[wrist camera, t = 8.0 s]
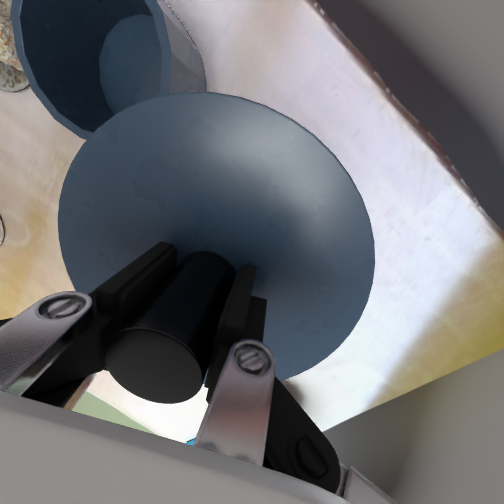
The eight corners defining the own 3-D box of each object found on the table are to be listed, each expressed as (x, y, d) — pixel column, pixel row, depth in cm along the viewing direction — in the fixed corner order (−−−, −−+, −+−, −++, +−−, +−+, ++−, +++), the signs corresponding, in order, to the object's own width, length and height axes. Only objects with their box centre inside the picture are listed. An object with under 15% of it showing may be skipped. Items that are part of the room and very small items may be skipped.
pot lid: (86, 335, 15) (-31, 443, 9) (61, 56, 9) (-298, -99, 3) (306, 396, 15) (321, 544, 9) (433, 150, 9) (696, 149, 3)
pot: (98, 131, 31) (26, 123, 22) (93, -6, 25) (-6, -89, 17) (197, 157, 31) (163, 160, 22) (214, 25, 25) (178, -43, 16)
